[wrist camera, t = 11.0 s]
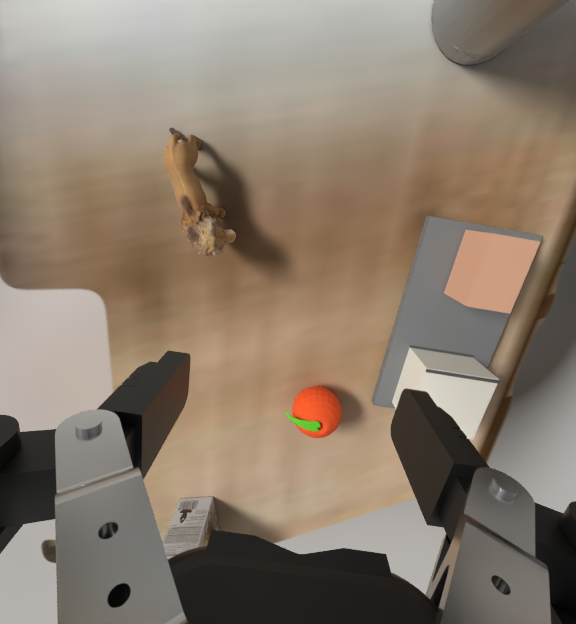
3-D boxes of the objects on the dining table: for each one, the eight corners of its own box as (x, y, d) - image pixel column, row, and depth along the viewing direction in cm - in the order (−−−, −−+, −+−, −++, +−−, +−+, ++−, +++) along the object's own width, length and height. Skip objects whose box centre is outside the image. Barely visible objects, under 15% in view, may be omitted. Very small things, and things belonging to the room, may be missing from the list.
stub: (465, 229, 37) (493, 233, 32) (505, 236, 37) (540, 241, 32) (443, 293, 39) (466, 306, 34) (481, 299, 40) (510, 313, 34)
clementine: (282, 411, 48) (280, 445, 41) (289, 372, 45) (288, 401, 39) (332, 419, 48) (339, 454, 41) (342, 381, 46) (350, 411, 39)
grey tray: (426, 216, 38) (454, 217, 31) (535, 235, 38) (587, 241, 31) (371, 400, 47) (384, 432, 40) (461, 414, 47) (489, 448, 40)
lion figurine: (249, 238, 39) (236, 247, 31) (213, 255, 40) (191, 269, 32) (191, 118, 35) (157, 90, 27) (152, 141, 36) (107, 120, 27)
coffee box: (222, 532, 57) (195, 652, 41) (188, 534, 57) (149, 653, 42) (213, 495, 54) (181, 609, 38) (177, 497, 54) (131, 610, 39)
